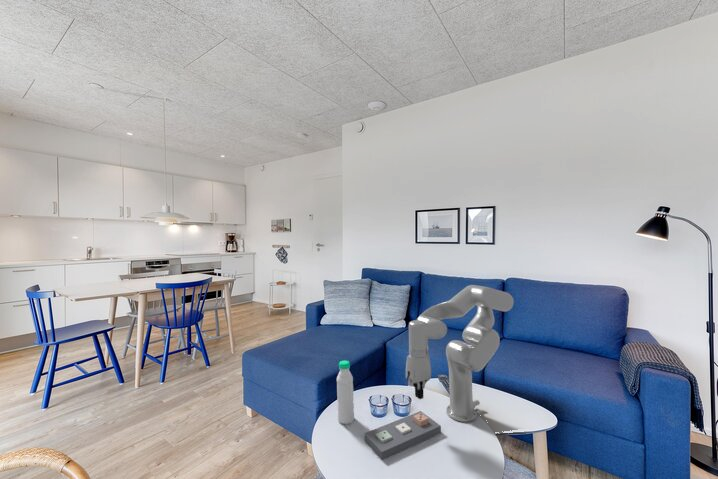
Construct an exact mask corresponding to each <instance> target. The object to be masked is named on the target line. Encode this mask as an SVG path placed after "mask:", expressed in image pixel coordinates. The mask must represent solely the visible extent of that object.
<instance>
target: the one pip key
mask: <svg viewBox="0 0 718 479" xmlns="http://www.w3.org/2000/svg"><path fill="white" fill-rule="evenodd" d="M395 429H396V430H397V431H398V432H399V433H400V434H401V435H404V434H406V433H408V432H411V428H410V427H409V426H408V425H406V424H405V423H402V424H399V425H397V426H395Z"/></svg>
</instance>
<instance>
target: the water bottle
mask: <svg viewBox="0 0 718 479" xmlns="http://www.w3.org/2000/svg"><path fill="white" fill-rule="evenodd" d="M350 363H351V362H350V361H349V360H341V361H339V363H338V368H339V372H338V374H337V376H336V396H337V398H336V399H337V420H338V422H339V423H341V424H342V425H348V424H350V423H353V421H355V412H354V410H355V404H354V383H353V382H354V377H353V375H352V373H351V371H350V368H351V364H350Z"/></svg>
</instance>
